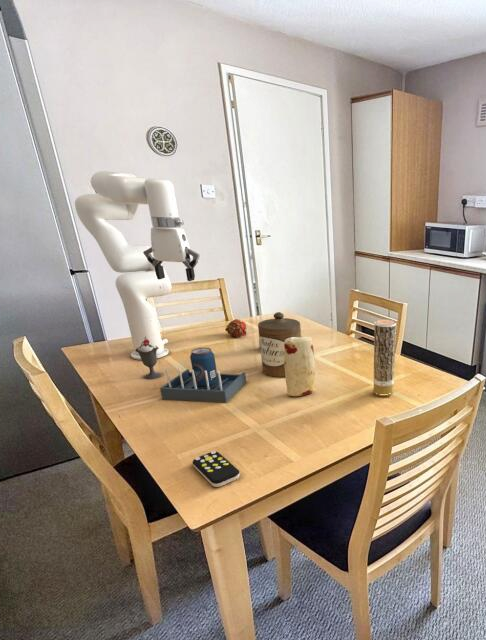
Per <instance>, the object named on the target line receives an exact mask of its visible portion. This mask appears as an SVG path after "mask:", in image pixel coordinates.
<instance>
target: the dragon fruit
mask: <svg viewBox="0 0 486 640" xmlns="http://www.w3.org/2000/svg"><path fill="white" fill-rule="evenodd" d="M225 332H227V334H228V335H229V336H231V337H235V338H241V337H242V336H246V335H247V324H246V322H245V321H243V320H242V321H241V319H238V318H235V319H234V320H231V321H229V323H228V324H227V325H226V327H225Z"/></svg>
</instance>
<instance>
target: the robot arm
mask: <svg viewBox="0 0 486 640" xmlns="http://www.w3.org/2000/svg"><path fill="white" fill-rule="evenodd" d="M90 185H91V187H92V189H93V190H94V192H95V193H86V194H81V195H79V196H77V197H76V198H75V200H74V206H75V207H74V208H75V211H76V215H77V216H78V219H79V221H80V222H81V223H82V225H83V227H84V228H85V229H86V230H87V231H88V232H89V234H90V235H91V236H92V237H93V239H94V240H95V241H96V243H97V244H98V246H99V249H100V250H101V252H102V254H103V256H104V258H105V260H106V261H107V263H108V265H109V267H110V268H111V269H112V271H114V272H116V273H120V275H119V276H117V277H116V279H115V288H116V290H117V292H118V295H119V297H120V299H121V302H122V305H123V308H124V311H125V315H126V316H125V317H126V319H127V324H128V328H129V332H130V337H131V341H132V344H133V349H134V350H133V351H132V352H131V353H130V357H131V359H135V360H139V361H142V360H141V357H140V355H139V353H138V352H136V351H135V350H136V349H137V348H138V347H140V346H141V343H142V342H143V341H144V339H145V336H146V339H148V340H149V341H150V342H152V344H153V345H155V346H157V347H158V348H159V349H157V353H156V355H157V359H160V358H163V357H166V356H167V355H169V353H170V352H169V349H168V348H166V347H165V345H166V344H167V343H169V340H168V339H167V338H163V339H162V335H161V331H160V330H161V329H160V326H159V325H160V324H159V321H158V315H157V310H156V308H155V307H154V306H153V305H152V304H151V303H149V302H148V301H147V299H150V298H157V297H163V296H167V295H169V294H170V293H171V292H172V288H173V287H172V282H171V280H170V277H169V275H168V273H167V271H166V269H165V267H164V266H163V262H167V263H168V262H171V263H182V264H183V265H184V266H185V267H186V268H185V274H186V279H187V282H192V281H194V280H195V278H196V275H195V267H196V266H197V264H198V263H199V260H200V257H201V256H200V253H198V252H196V251H194V250H193V249H191V247H190V244H189V240H188V237H187V233H186V231H185V229H184V228H181V227H182V226H184V225H185V223H184V220H181V219H180V216H179V211H178V204H177V199H176V192H175V187H174V184H173V182H172V181H170V180H168V179H163V178H162V179H161V178H151V177H139V176H137V175H135V174H133V173H129V172H120V171H109V170H100V171H97V172H95V173H93V174H92V176H91V178H90ZM141 205H148V211H149V215H150V220H151V225H152V227H150V244H151V247H150V246H148V245H146V244H130V243H128V242H127V240H126V238H125V237H124V235H123V233H122V232H121V231H120V230H119V229H117V228H116V227H115V226H114V225H112V224H110V223H108V222H107V221H130V220H131V221H132V220H133V219H134V218H136V216H137V214H138V212H139V209H140V206H141ZM121 273H122V274H121ZM146 339H145V340H146Z"/></svg>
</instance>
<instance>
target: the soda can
mask: <svg viewBox="0 0 486 640" xmlns="http://www.w3.org/2000/svg"><path fill="white" fill-rule="evenodd" d="M189 358H190V359H189V360H190V365H191V370H194V375H195V381H196V385H197V386H198V387H200V388H207V383H206V377H205V371H207V376H208V382H209V387H213V386H215V385H216V384H217V382H218V376H217V373H218V371H217V363H216V359H215V354H214V352H213V351H212V348H210V347H197V348H194V349H191V353H190V356H189Z"/></svg>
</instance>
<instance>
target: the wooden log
mask: <svg viewBox="0 0 486 640" xmlns="http://www.w3.org/2000/svg"><path fill="white" fill-rule="evenodd" d="M373 325H374V327H373V329H374V330H373V339H374V340H373V393H374V395H375V396H376V397H381V398H382V397H383V398H385V397H386V398H387V397H390V396H393V394H394V386H395V385H394V384H395V359H396V357H395V355H396V354H395V353H396V326H397V323H396V321H394V320H391V319H376V320H375V321H374V324H373ZM392 392H393V393H392ZM376 393H377V394H376ZM389 393H391V394H389ZM380 394H388V395H380Z"/></svg>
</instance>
